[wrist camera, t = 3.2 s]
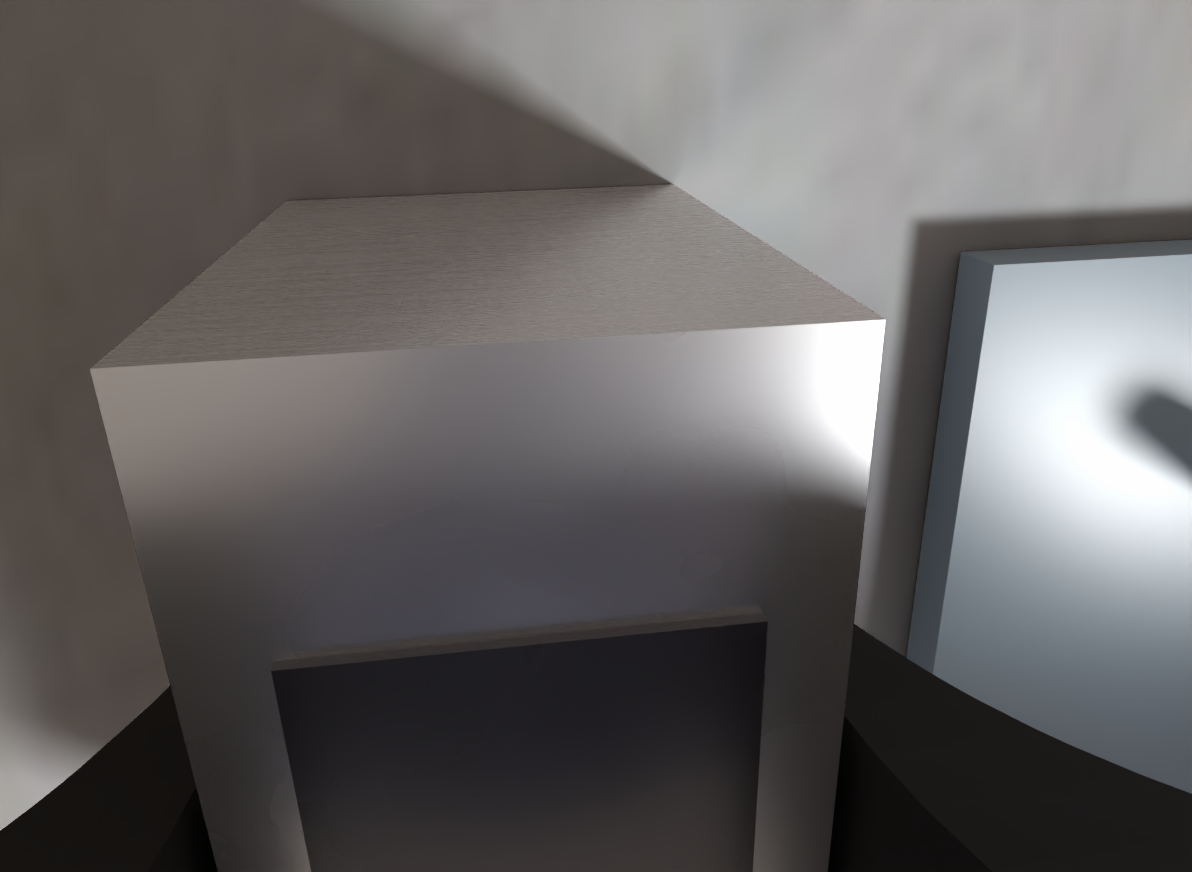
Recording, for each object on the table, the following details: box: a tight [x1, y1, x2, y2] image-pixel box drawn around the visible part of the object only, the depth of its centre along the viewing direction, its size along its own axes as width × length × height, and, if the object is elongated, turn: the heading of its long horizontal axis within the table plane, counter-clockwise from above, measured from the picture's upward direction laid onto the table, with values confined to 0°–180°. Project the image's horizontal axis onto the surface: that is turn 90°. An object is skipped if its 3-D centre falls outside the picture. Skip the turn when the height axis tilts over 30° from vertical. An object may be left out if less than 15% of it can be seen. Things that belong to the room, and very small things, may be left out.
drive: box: [90, 184, 886, 872], centre depth 10 cm, size 4×10×6 cm, turn 2°
